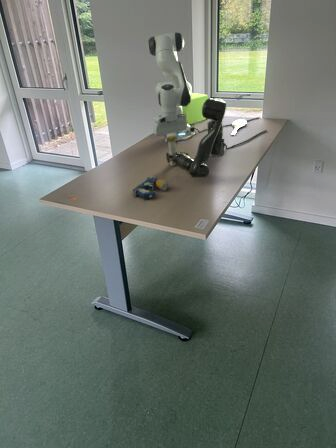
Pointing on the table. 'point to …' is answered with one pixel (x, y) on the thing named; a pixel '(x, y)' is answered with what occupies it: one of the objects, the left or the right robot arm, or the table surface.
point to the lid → (171, 138)
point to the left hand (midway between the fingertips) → (171, 140)
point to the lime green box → (194, 108)
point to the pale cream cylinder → (172, 151)
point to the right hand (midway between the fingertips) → (170, 153)
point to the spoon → (238, 125)
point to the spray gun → (149, 187)
